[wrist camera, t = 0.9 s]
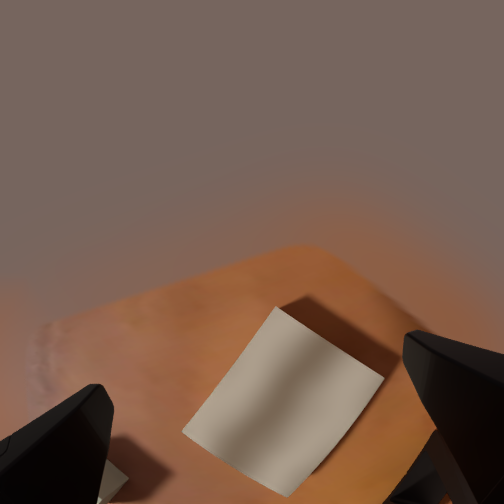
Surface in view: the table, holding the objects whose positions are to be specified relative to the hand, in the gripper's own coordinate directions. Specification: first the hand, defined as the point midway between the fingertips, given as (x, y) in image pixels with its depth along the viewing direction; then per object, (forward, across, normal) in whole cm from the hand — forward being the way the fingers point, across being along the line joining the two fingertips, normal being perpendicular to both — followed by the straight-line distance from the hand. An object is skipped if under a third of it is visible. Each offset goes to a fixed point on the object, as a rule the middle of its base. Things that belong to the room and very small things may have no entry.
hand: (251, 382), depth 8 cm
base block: (+10, -1, +11) cm, 15 cm away
